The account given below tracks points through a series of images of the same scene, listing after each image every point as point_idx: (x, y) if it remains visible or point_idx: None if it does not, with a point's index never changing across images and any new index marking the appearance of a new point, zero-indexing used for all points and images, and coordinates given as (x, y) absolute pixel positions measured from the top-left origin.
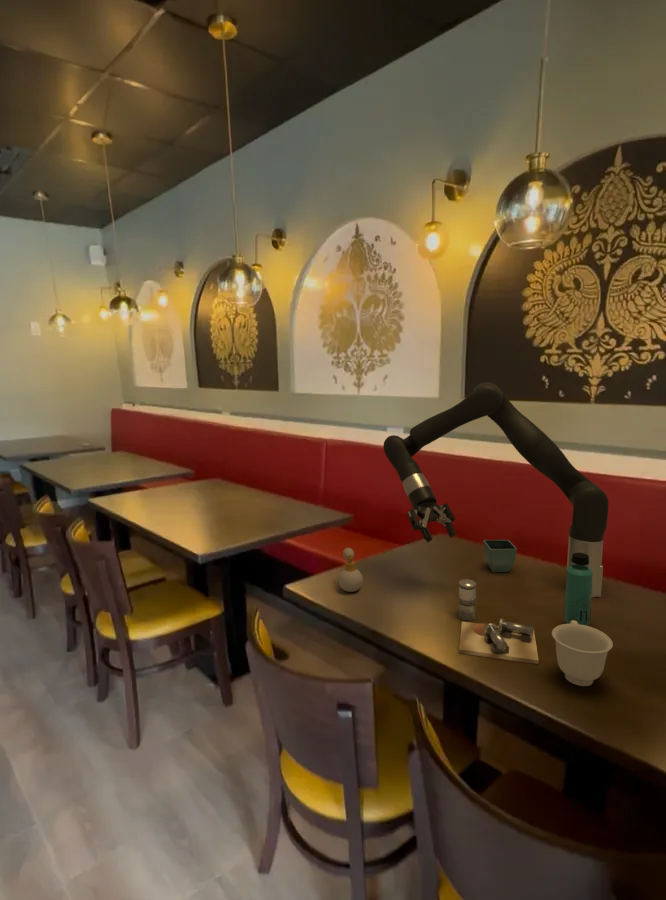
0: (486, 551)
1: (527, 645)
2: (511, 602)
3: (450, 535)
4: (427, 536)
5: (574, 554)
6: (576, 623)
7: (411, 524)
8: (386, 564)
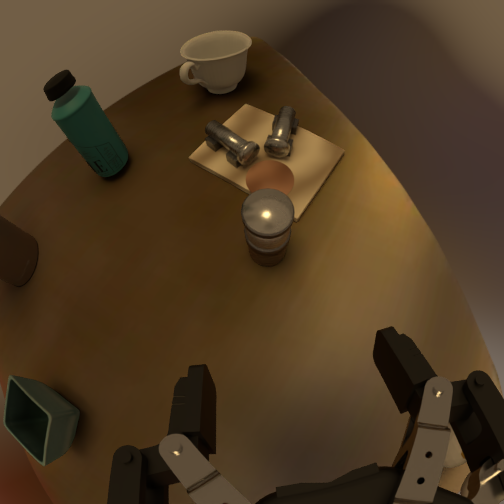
0: (58, 442)
1: (233, 129)
2: (134, 271)
3: (212, 391)
4: (407, 341)
5: (59, 80)
6: (187, 62)
7: (479, 429)
8: None
